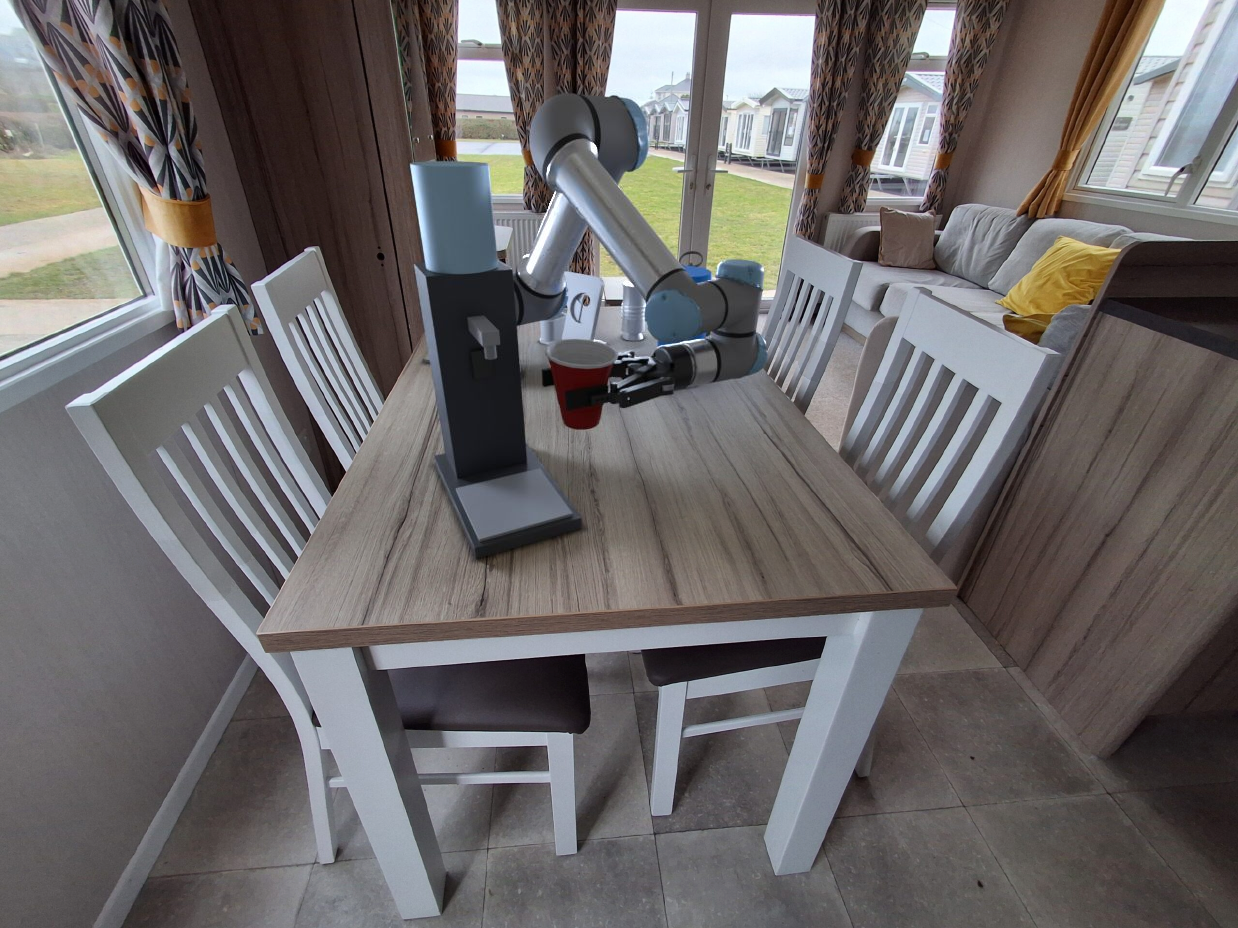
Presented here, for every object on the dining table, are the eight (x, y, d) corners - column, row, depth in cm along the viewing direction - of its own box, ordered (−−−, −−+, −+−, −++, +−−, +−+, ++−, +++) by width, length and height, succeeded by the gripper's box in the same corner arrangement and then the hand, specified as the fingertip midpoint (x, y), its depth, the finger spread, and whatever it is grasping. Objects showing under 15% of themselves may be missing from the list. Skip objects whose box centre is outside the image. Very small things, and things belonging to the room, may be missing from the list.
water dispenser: (434, 464, 98) (380, 161, 74) (521, 445, 105) (498, 161, 80) (476, 559, 77) (419, 179, 53) (581, 528, 84) (575, 177, 59)
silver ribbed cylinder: (632, 331, 163) (634, 279, 155) (649, 337, 159) (652, 283, 151) (615, 336, 159) (616, 283, 151) (633, 342, 155) (634, 288, 147)
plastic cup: (609, 442, 83) (610, 365, 76) (539, 434, 84) (534, 358, 78) (623, 411, 92) (624, 340, 85) (559, 404, 93) (557, 334, 87)
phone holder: (536, 341, 154) (532, 274, 145) (560, 332, 161) (557, 268, 152) (586, 355, 146) (585, 285, 136) (608, 345, 153) (609, 277, 144)
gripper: (718, 412, 86) (583, 443, 77) (648, 365, 102) (530, 386, 93) (724, 366, 82) (583, 392, 73) (650, 325, 98) (527, 342, 89)
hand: (553, 389), depth 83 cm, fingers closed on plastic cup, 9 cm apart
